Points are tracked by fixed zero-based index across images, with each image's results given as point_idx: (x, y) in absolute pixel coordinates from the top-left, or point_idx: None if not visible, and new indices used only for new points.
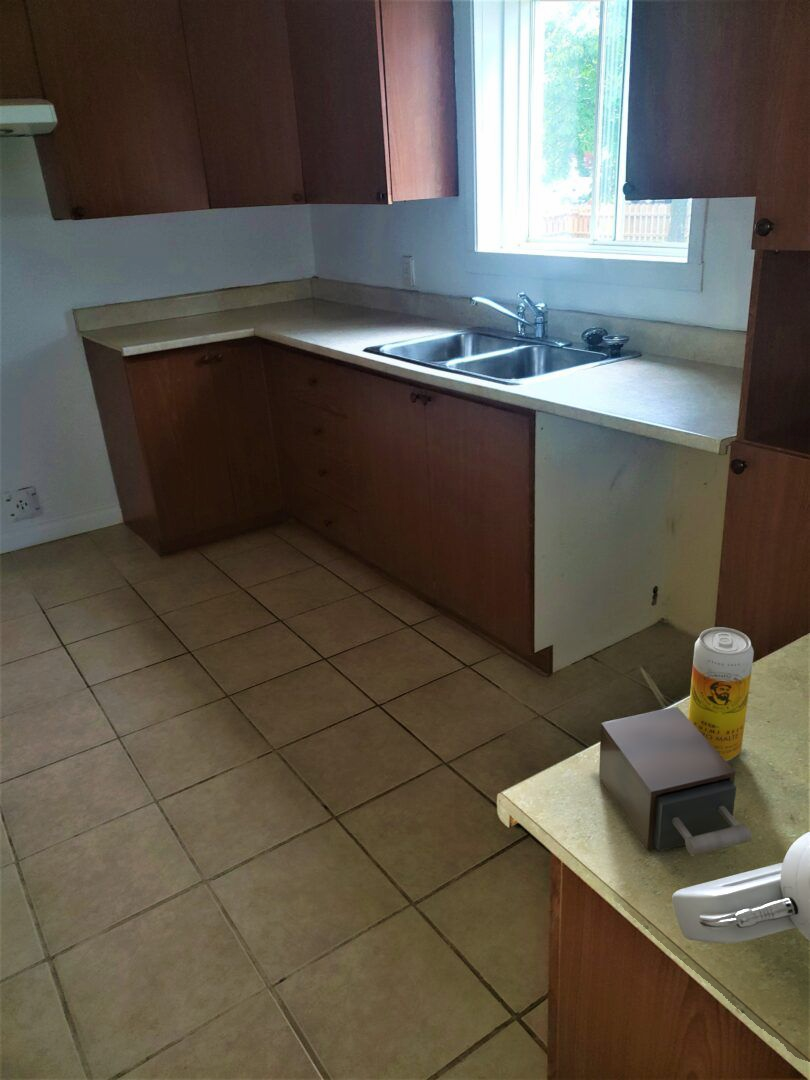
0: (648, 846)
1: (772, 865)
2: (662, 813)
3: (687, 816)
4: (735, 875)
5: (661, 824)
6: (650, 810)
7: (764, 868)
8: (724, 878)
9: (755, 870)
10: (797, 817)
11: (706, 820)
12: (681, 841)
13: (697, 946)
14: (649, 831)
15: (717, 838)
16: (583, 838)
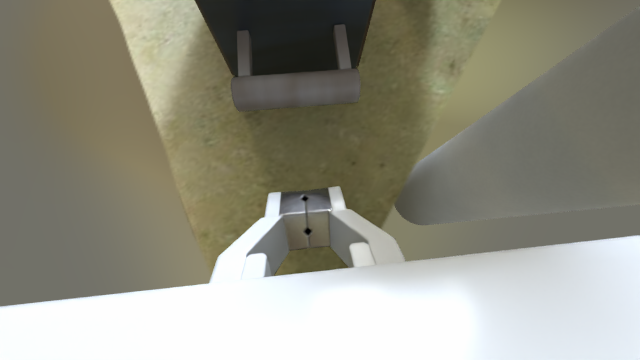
0: (232, 71)
1: (271, 308)
2: (206, 15)
3: (269, 33)
4: (77, 336)
5: (217, 39)
6: (199, 6)
7: (210, 340)
8: (8, 351)
9: (175, 331)
10: (460, 66)
11: (311, 47)
12: (272, 73)
13: (218, 236)
14: (220, 48)
15: (288, 90)
16: (157, 41)
